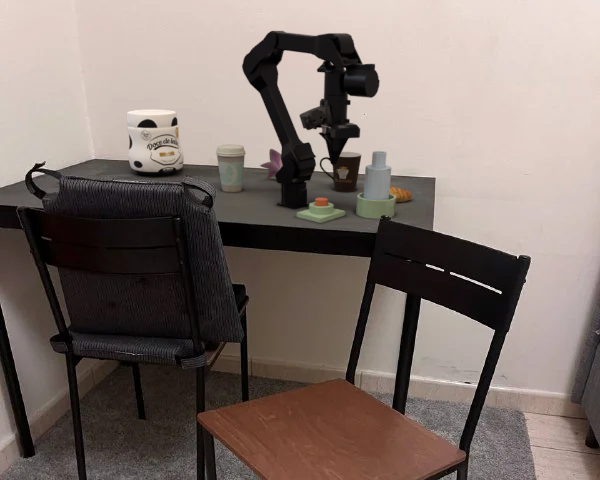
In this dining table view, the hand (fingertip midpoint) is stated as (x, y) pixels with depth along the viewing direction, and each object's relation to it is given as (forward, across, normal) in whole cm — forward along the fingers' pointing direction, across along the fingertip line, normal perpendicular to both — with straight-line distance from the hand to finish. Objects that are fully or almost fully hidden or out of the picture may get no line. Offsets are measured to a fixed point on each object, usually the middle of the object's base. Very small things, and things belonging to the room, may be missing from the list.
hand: (333, 164), depth 154 cm
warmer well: (+12, +2, +11) cm, 17 cm away
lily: (+12, -41, -2) cm, 43 cm away
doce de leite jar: (+12, -62, -38) cm, 74 cm away
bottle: (+12, +2, +11) cm, 16 cm away
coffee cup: (+12, -33, -19) cm, 40 cm away
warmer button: (+10, +2, -3) cm, 10 cm away
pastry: (+12, -10, +22) cm, 27 cm away
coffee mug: (+12, -27, +13) cm, 32 cm away
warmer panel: (+12, +2, -3) cm, 13 cm away
